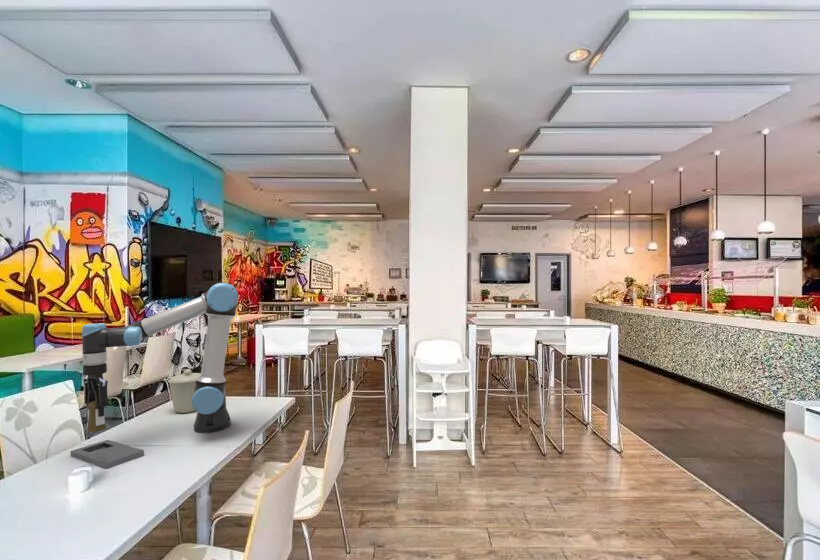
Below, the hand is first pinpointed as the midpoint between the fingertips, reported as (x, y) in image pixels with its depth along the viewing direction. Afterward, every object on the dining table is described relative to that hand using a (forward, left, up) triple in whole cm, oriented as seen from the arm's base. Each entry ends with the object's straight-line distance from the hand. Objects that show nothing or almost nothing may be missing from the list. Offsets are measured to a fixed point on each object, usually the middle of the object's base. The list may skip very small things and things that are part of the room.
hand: (96, 423), depth 169 cm
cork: (0, 0, -2) cm, 2 cm away
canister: (+21, -51, -12) cm, 56 cm away
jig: (-7, 0, -11) cm, 13 cm away
